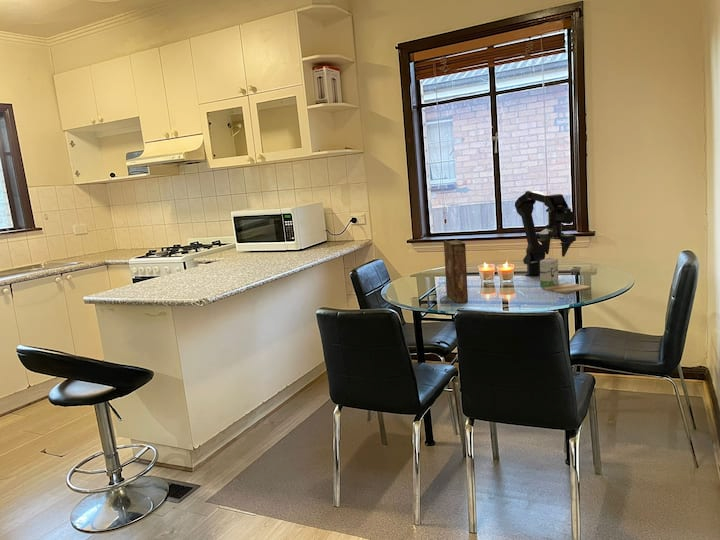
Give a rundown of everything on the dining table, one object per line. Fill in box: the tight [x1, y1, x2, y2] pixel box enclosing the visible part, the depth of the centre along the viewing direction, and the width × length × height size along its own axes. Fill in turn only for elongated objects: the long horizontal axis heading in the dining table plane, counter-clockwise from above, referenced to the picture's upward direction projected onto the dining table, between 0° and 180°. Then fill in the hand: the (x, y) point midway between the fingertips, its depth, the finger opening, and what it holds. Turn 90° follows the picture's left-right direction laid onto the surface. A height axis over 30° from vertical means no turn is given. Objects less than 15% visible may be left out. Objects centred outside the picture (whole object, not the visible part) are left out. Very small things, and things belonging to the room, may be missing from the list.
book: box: [443, 239, 469, 304], centre depth 232 cm, size 16×6×25 cm, turn 5°
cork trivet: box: [542, 282, 592, 295], centre depth 236 cm, size 13×15×1 cm
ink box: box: [539, 257, 559, 287], centre depth 245 cm, size 9×5×12 cm, turn 134°
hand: (555, 255), depth 250 cm, fingers open, 9 cm apart
